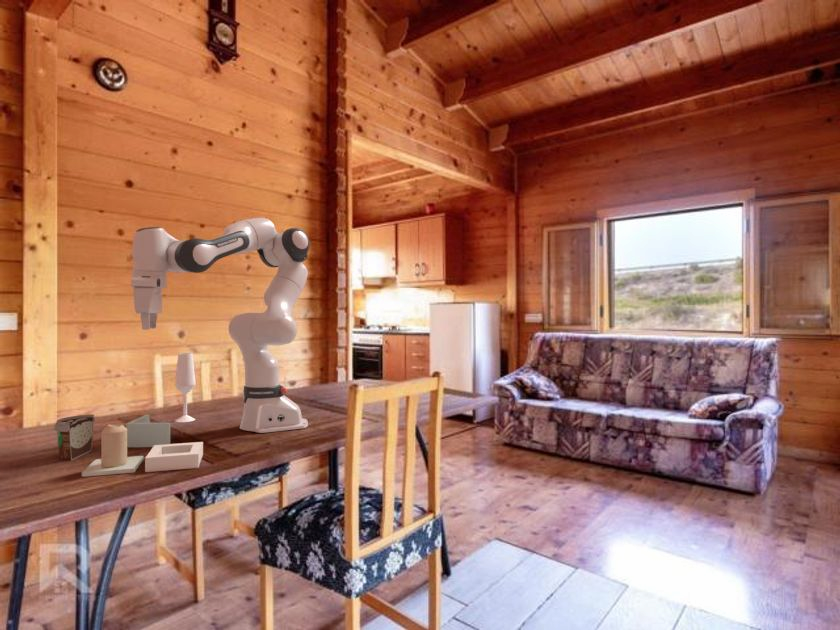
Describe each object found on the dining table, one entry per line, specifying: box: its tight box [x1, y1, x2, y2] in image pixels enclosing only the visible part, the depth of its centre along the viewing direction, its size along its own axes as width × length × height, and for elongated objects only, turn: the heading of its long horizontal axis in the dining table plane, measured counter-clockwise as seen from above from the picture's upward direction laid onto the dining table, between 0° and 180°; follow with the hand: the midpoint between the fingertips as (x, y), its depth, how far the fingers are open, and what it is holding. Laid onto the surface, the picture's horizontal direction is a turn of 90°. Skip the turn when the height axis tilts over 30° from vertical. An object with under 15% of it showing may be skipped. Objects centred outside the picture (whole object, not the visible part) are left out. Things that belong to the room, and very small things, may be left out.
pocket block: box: [144, 441, 204, 473], centre depth 129 cm, size 12×12×4 cm
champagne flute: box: [174, 352, 197, 423], centre depth 178 cm, size 7×7×24 cm
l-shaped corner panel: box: [125, 414, 171, 448], centre depth 149 cm, size 12×12×8 cm
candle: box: [100, 423, 128, 467], centre depth 124 cm, size 6×6×10 cm
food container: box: [53, 414, 96, 462], centre depth 134 cm, size 12×6×10 cm, turn 5°
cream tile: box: [81, 455, 144, 478], centre depth 125 cm, size 11×11×1 cm
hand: (149, 329), depth 145 cm, fingers open, 8 cm apart
